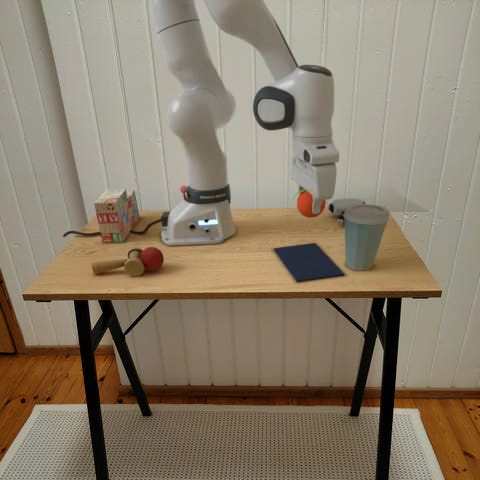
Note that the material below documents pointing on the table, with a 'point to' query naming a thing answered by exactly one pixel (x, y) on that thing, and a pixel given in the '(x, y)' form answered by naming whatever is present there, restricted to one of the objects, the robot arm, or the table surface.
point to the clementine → (307, 204)
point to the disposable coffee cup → (363, 234)
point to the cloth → (307, 262)
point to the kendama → (133, 261)
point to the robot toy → (342, 206)
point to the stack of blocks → (116, 214)
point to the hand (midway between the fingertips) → (309, 207)
